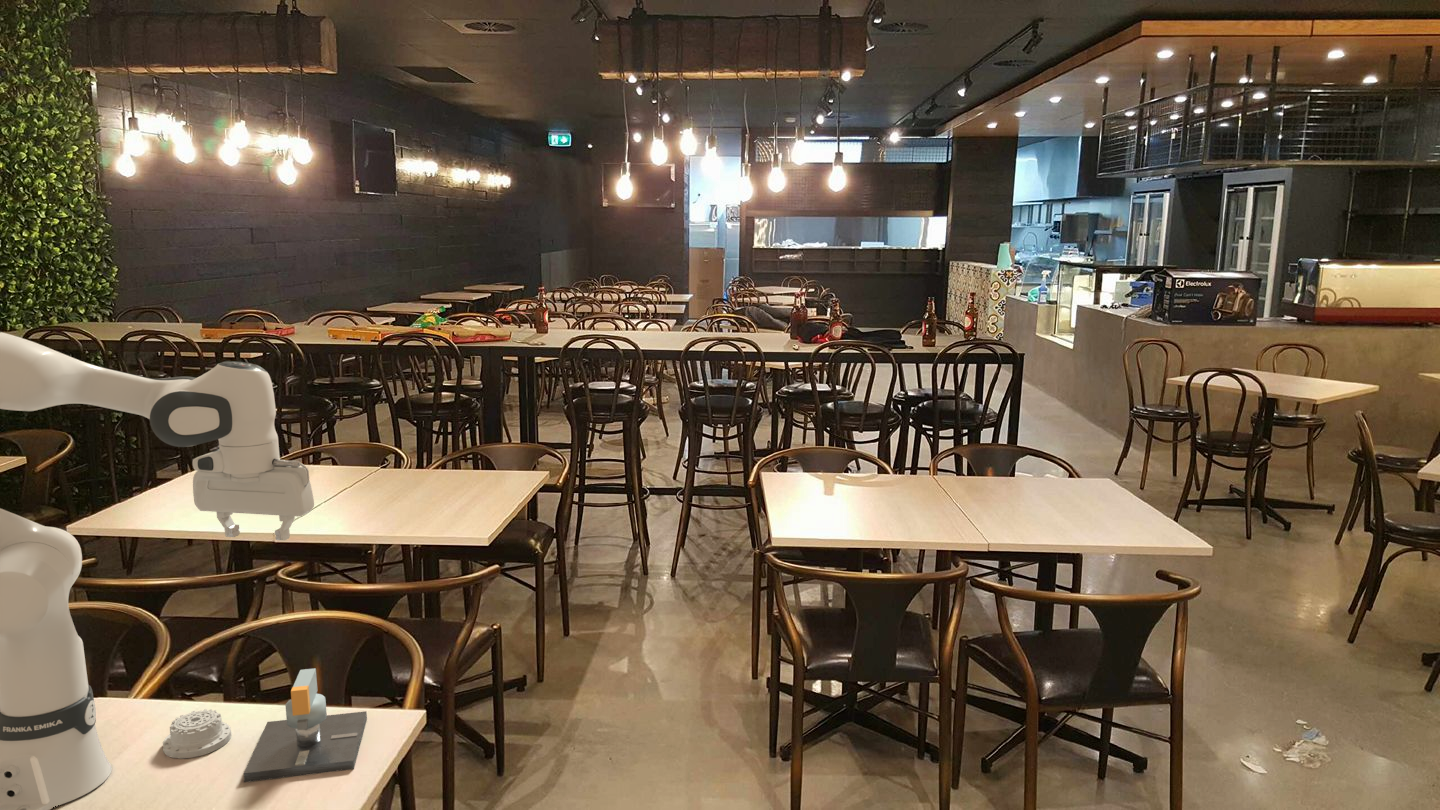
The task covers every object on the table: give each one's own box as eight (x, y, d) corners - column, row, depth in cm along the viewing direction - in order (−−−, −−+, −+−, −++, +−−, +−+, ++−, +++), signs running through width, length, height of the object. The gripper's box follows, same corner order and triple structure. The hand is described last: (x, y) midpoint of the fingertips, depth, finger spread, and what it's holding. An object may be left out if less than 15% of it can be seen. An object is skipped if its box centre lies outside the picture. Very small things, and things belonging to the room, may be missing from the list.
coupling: (292, 709, 156) (288, 670, 155) (330, 705, 158) (327, 666, 156) (282, 733, 149) (278, 692, 147) (322, 729, 150) (319, 688, 149)
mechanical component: (148, 756, 152) (202, 763, 150) (146, 731, 151) (200, 738, 149) (193, 725, 162) (244, 731, 160) (190, 702, 161) (242, 707, 159)
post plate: (244, 782, 145) (241, 752, 144) (268, 729, 160) (265, 702, 159) (353, 769, 148) (351, 740, 147) (366, 719, 164) (365, 692, 163)
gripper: (318, 456, 157) (324, 535, 159) (209, 451, 160) (217, 528, 163) (295, 465, 151) (302, 547, 153) (183, 460, 154) (191, 540, 156)
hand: (257, 537), depth 158 cm, fingers open, 8 cm apart
